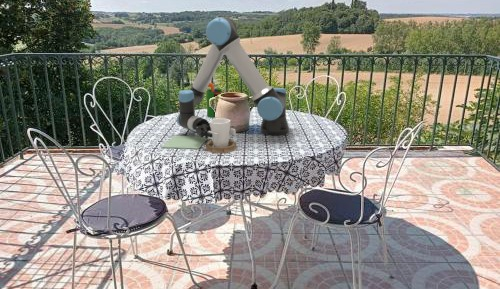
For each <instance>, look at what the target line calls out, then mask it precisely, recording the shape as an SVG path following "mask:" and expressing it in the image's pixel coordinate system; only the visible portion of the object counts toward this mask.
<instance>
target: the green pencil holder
mask: <svg viewBox="0 0 500 289" xmlns="http://www.w3.org/2000/svg"><path fill="white" fill-rule="evenodd" d="M207 88H210V89H206V91H205V93H206V113H207V115H206V116H207V117H208V118H212V119H215V118H216V117H215V112H214V110H213V109H212V108H211V107H209V99H210V98H212V97H215V96H217V95H218V94H221V93H222V89H221V88H219V89H218V88H215V86H214V83H213V82H210V83H209V85H208V87H207Z"/></svg>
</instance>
